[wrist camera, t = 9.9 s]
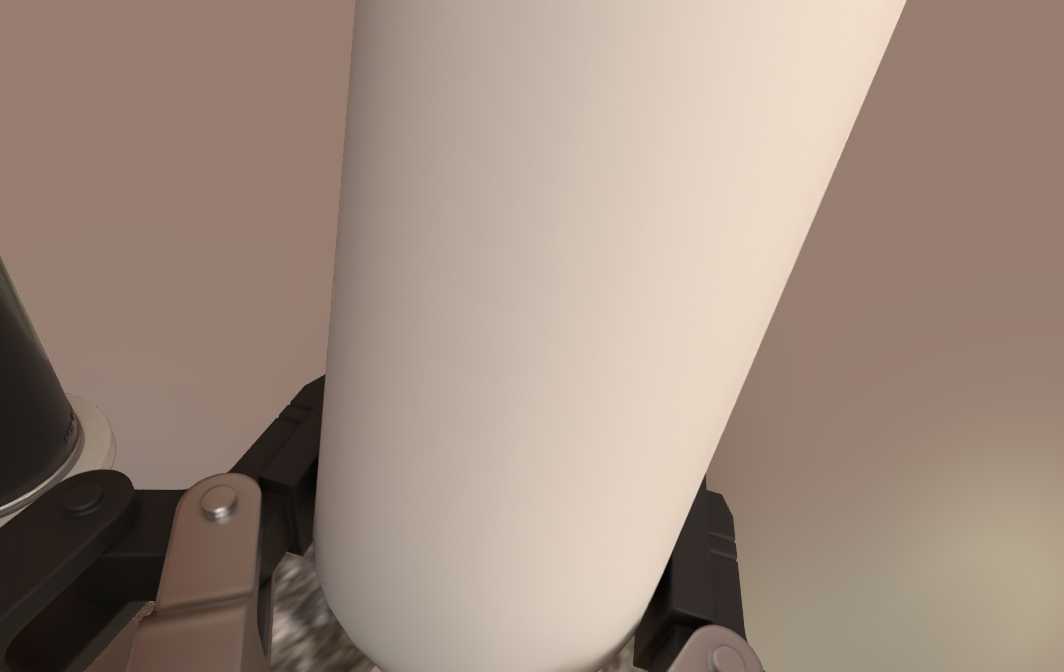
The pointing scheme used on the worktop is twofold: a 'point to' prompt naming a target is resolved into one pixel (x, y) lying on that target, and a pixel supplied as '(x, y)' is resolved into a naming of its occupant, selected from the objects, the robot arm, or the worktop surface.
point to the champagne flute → (556, 301)
